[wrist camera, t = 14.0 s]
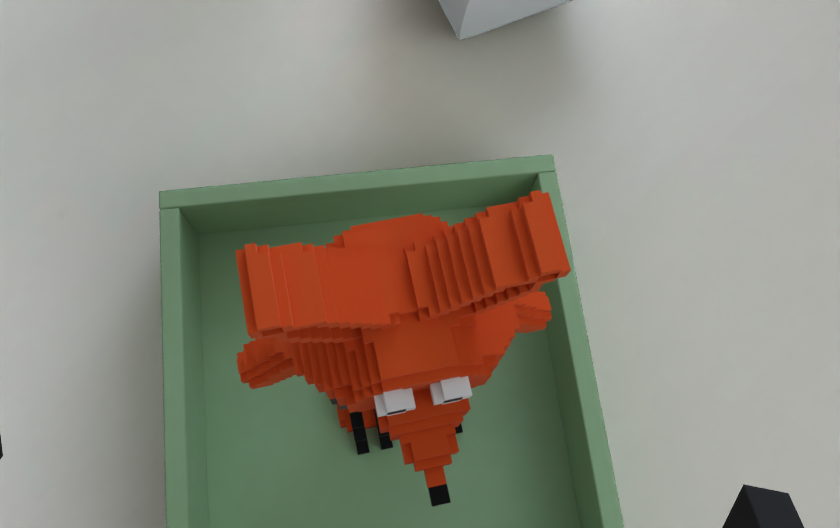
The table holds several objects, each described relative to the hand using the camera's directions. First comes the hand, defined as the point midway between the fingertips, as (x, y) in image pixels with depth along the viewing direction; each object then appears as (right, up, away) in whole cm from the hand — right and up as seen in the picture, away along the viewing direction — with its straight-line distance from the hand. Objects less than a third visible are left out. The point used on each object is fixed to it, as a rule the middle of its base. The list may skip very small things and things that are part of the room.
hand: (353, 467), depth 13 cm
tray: (0, -1, +11) cm, 11 cm away
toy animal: (+1, -1, +10) cm, 11 cm away
